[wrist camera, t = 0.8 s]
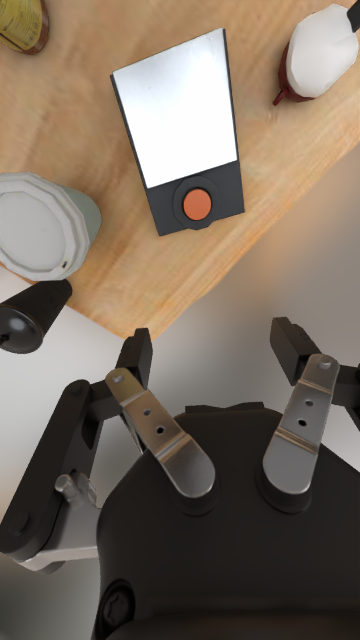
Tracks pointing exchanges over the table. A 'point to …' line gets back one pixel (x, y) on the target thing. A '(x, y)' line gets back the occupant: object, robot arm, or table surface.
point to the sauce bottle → (24, 25)
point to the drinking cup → (31, 315)
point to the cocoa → (319, 52)
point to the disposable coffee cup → (44, 226)
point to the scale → (194, 186)
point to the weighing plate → (179, 109)
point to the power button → (197, 204)
